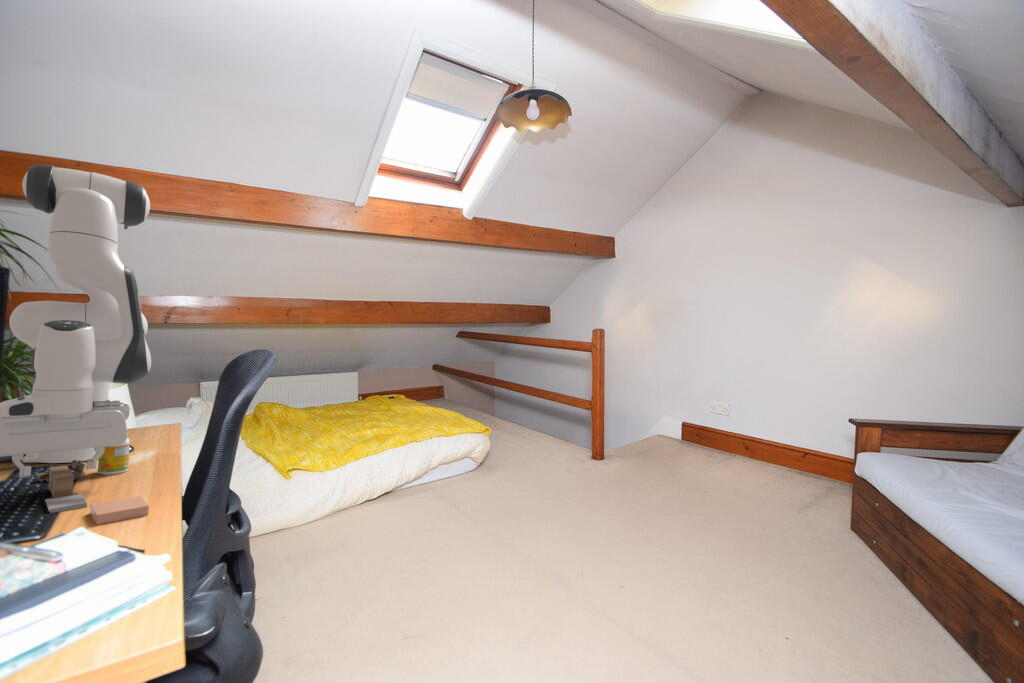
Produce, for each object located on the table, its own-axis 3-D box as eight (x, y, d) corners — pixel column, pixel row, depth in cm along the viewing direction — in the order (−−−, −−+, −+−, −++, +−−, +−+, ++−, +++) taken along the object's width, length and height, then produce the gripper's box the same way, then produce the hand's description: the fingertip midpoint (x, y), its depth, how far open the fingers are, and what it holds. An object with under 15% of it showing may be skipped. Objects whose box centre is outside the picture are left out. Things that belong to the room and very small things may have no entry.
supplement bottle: (91, 472, 107) (94, 430, 107) (119, 467, 112) (121, 426, 112) (106, 476, 105) (108, 432, 105) (133, 471, 110) (135, 429, 110)
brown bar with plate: (39, 490, 94) (41, 468, 94) (73, 485, 98) (74, 464, 98) (48, 513, 83) (50, 487, 83) (86, 507, 87) (88, 482, 87)
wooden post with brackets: (87, 477, 101) (78, 458, 101) (45, 493, 99) (35, 474, 99) (92, 475, 103) (83, 456, 103) (51, 491, 101) (41, 472, 101)
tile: (90, 504, 84) (97, 514, 79) (140, 496, 89) (148, 505, 85) (90, 515, 84) (96, 527, 79) (139, 507, 89) (148, 517, 85)
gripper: (127, 398, 103) (123, 461, 103) (-13, 403, 88) (-18, 477, 88) (133, 402, 99) (129, 467, 99) (-13, 408, 84) (-18, 486, 84)
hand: (59, 472), depth 93 cm, fingers open, 8 cm apart
